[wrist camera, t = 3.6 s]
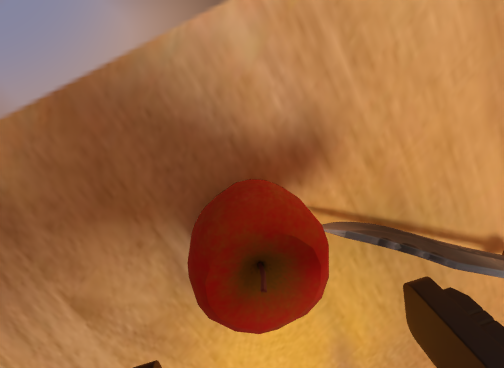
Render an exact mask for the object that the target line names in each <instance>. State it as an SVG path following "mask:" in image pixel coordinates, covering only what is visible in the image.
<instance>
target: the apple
mask: <svg viewBox="0 0 504 368" xmlns="http://www.w3.org/2000/svg"><path fill="white" fill-rule="evenodd" d="M188 272H189V279H190V282H191V285H192V288H193V291H194V294H195V297H196V300H197V303H198V305H199V307H200V308H201V309H202V310H203V311H204V313H205V314H206V315H207V316H208V318H209V319H211V320H213V321H216V322H218V323H220V324H222V325H224V326H226V327H228V328H230V329H232V330H234V331H237V332H246V333H255V334H262V333H265V332H269V331H273V330H277V329H279V328H281V327H283V326H285V325H287V324H289V323H290V322H292V321H294V320H296V319H298V318H300V317H302V316H304V315H306V314H308V312H309V311H310V310H311V309H312V308H313V307H314V306H315V305H316V304H317V302H318V301H319V300H320V299H321V298H322V295H323V292H324V289H325V287H326V284H327V281H328V278H329V245H328V241H327V237H326V235H325V232H324V229H323V226H322V225H321V223H320V222H319V221H318V220H317V219H316V218H315V216H314V215H313V214H312V213H311V212H310V210H309V209H308V208H307V207H306V206H305V205H304V203H303V202H302V201H301V200H300V199H299V198H298V197H296V196H295V195H293V194H292V193H290V192H289V191H287V190H286V189H284V188H283V187H281V186H279V185H277V184H274V183H271V182H269V181H266V180H258V179H249V180H245V181H240V182H236V183H235V184H233V185H232V186H230V187H229V188H227V189H226V190H225V191H223V192H222V193H220V194H219V195H217V196H216V197H215V198H214V199H213V200H212V201H211V202H210V203H209V204H208V205H207V206H206V207H205V208H204V209H203V210H202V211H201V213H200V215H199V217H198V219H197V221H196V223H195V225H194V228H193V231H192V235H191V242H190V249H189V257H188Z"/></svg>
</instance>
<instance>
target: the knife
mask: <svg viewBox="0 0 504 368" xmlns="http://www.w3.org/2000/svg"><path fill="white" fill-rule="evenodd" d="M322 226H323V229H324V231H325V232H328V233H332V234H335V235H338V236H341V237H345V238H348V239H353V240H357V241H362V242H366V243H370V244H374V245H378V246H382V247H386V248H390V249H394V250H397V251H401V252H404V253H408V254H411V255H414V256H418V257H421V258H424V259H427V260H430V261H433V262H436V263H439V264H441V265H444V266H447V267H450V268H453V269H458V270H463V271H468V272H474V273H479V274H484V275H490V276H495V277H500V278H504V252H503V253H502V255H500V254H495V253H490V252H485V251H480V250H475V249H470V248H466V247H461V246H457V245H453V244H449V243H445V242H441V241H437V240H434V239H430V238H426V237H423V236H419V235H416V234H412V233H409V232H405V231H402V230H398V229H395V228H391V227H386V226H382V225H376V224H370V223H360V222H333V223H328V224H324V225H322Z"/></svg>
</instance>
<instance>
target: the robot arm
mask: <svg viewBox="0 0 504 368" xmlns="http://www.w3.org/2000/svg"><path fill="white" fill-rule="evenodd" d="M403 291H404V300H405V310H406V319H407V324H408V327H409V329H410V331H411V333H412V335H413V337H414V339H415V340H416V341H417V343H418V344H419V345H420V347H421V348H422V349H423V350H424V352H425V353H426V354H427V356H428V357H429V358H430V360H431V361H432V362H433V363H434V365H435V366H436V367H437V368H504V327H503V326H502V325H501V324H500V323H498V322H497V321H495V320H494V319H493V317H492V316H491V315H489V314H488V313H487V312H486V311H485V310H484V311H483V309H482V307H480V306H479V305H478V304H477V303H476V302H475V301H474V300H473V299H471V298H470V297H469V296H468V295H466V294H464V293H461V292H459V291H457V290H455V289H453V288H451V287H450V288H447V289H444V290H443V289H442V288H441V287H440V286H438V285H437V284H436V283H435V282H434V281H433V280H432V279H431V278H430V277H423V278H420V279H417V280H414V281H410V282H407V283H405V284H404V285H403ZM133 368H162V367H161V365H160V363H159V362H158V361H157V360H156V361H153V362H149V363H146V364H143V365H140V366H137V367H133Z"/></svg>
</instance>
